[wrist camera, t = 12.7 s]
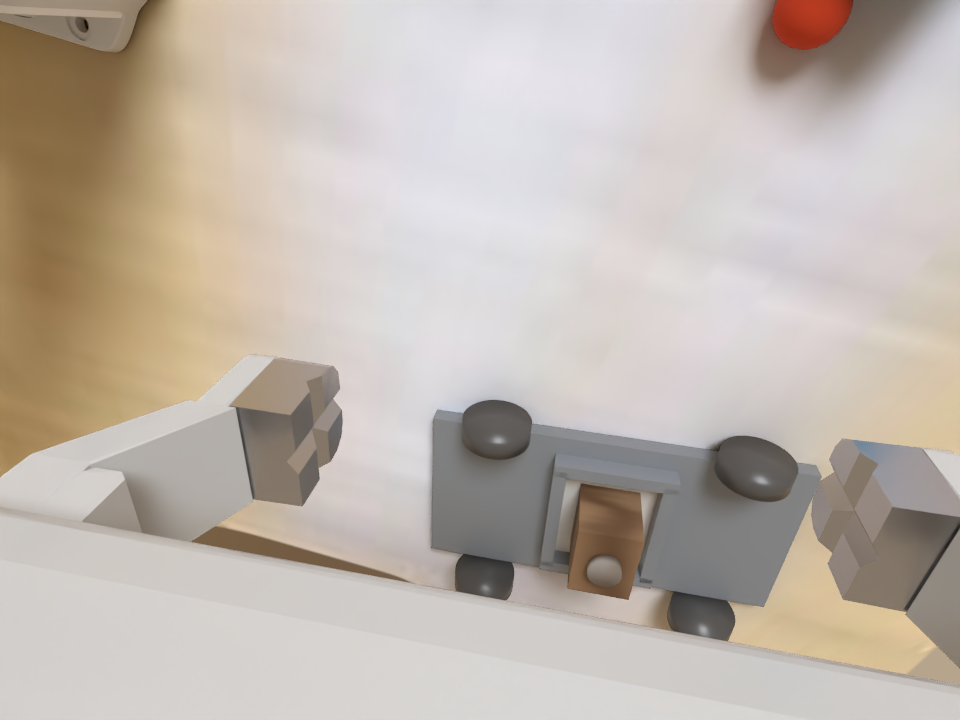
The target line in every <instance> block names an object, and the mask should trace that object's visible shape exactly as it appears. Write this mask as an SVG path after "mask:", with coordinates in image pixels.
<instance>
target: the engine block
mask: <svg viewBox="0 0 960 720" xmlns="http://www.w3.org/2000/svg"><path fill="white" fill-rule="evenodd" d="M643 546H644V531H643V518H642V505H641V493H638V492H632V491H626V490H619V489H613V488H607V487H601V486H595V485H589V484H582V483H581V486H580V491H579V497H578V502H577V507H576V513H575V518H574V523H573V529H572V534H571V540H570V557H569V573H568V589H572V590H578V591H583V592H589V593H594V594H600V595H605V596H610V597H616V598H621V599H627V600H629V596H630V593H631V589H632V585H633V582H634V578H635V575H636V571H637V567H638V564H639V560H640V556H641V553H642V549H643Z"/></svg>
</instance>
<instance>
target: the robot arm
mask: <svg viewBox="0 0 960 720" xmlns="http://www.w3.org/2000/svg"><path fill="white" fill-rule="evenodd" d="M147 1H148V0H0V21H3V22H6V23H10V24H13V25H16V26H20V27H23V28H26V29H30V30H33V31H36V32H39V33H43V34H46V35H49V36H53V37H56V38H59V39H63V40H66V41H69V42H72V43H76V44H79V45H82V46H86V47H89V48H92V49H96V50H99V51H106V52H119V51H121V50H123V49H124V48H125V46H126V45H127V43H128V41H129V39H130V37H131V34H132V32H133V28H134V25H135V22H136V19H137V15H138V12H139V11H140V9H141V8H142V6H143V5H144V4H145V3H146V2H147ZM84 19H86V21H87V22H88V25H89V29H87V28H86V27H85V24H84ZM339 389H340V384H339V375H338V371H337V370H336V369H335V367H334V366H329V365H323V364H317V363H310V362H304V361H298V360H292V359H286V358H278V357H274V356H266V355H258V354H249V355H246V356H245V357H244V358H243V359H242V360H241V361H240V362H238V363H237V364H236V365H235V366H234V367H233V368H232V369H231V370H230V371H229V372H228V373H227V374H226V375H224V376H223V377H222V378H221V379H220V380H219V381H218V382H217V383H216V384H215V385H214V386H213V387H212V388H210V389H209V390H208V391H207V392H206V393H205V394H204V395H203V396H202V397H201V398H200V399H199V400H198V401H189V400H187V401H184V402H181V403H178V404H175V405H172V406H170V407H167V408H164V409H161V410H158V411H155V412H152V413H149V414H146V415H143V416H140V417H137V418H135V419H132V420H129V421H126V422H123V423H120V424H117V425H114V426H111V427H108V428H105V429H102V430H100V431H97V432H94V433H91V434H88V435H85V436H82V437H79V438H76V439H73V440H70V441H67V442H65V443H62V444H59V445H56V446H53V447H50V448H47V449H44V450H41V451H38V452H35V453H32V454H30V455H29V456H28V457H26V458H25V459H24V460H22V461H21V462H20V463H18V464H17V465H16V466H14V467H13V468H12V469H11V470H9V471H8V472H7V473H5V474H4V475H3V476H1V477H0V720H960V685H959V684H953V683H948V682H943V681H938V680H932V679H927V678H921V677H915V676H911V675H905V674H900V673H895V672H889V671H884V670H878V669H873V668H868V667H862V666H857V665H852V664H846V663H841V662H835V661H830V660H825V659H819V658H814V657H809V656H803V655H798V654H793V653H787V652H782V651H776V650H771V649H766V648H760V647H755V646H750V645H744V644H739V643H733V642H728V641H723V640H717V639H712V638H707V637H701V636H696V635H690V634H685V633H680V632H674V631H669V630H664V629H658V628H653V627H647V626H642V625H636V624H631V623H625V622H620V621H615V620H609V619H604V618H598V617H593V616H587V615H582V614H576V613H571V612H566V611H560V610H555V609H549V608H544V607H538V606H533V605H527V604H522V603H516V602H511V601H506V600H500V599H495V598H489V597H484V596H478V595H473V594H467V593H462V592H457V591H451V590H446V589H441V588H435V587H430V586H424V585H419V584H414V583H408V582H402V581H397V580H392V579H386V578H381V577H376V576H370V575H365V574H360V573H354V572H349V571H343V570H338V569H333V568H327V567H322V566H316V565H310V564H306V563H300V562H295V561H290V560H284V559H279V558H273V557H268V556H263V555H257V554H252V553H247V552H241V551H235V550H230V549H225V548H219V547H214V546H209V545H203V544H197V543H193V542H191V541H192V540H194V539H195V538H197V537H199V536H200V535H202V534H203V533H205V532H206V531H208V530H210V529H211V528H213V527H214V526H216V525H217V524H219V523H221V522H222V521H224V520H225V519H227V518H228V517H230V516H232V515H233V514H235V513H236V512H238V511H239V510H241V509H243V508H244V507H246V506H247V505H249V504H250V503H252V502H253V499H255V500H262V501H269V502H276V503H283V504H290V505H297V506H303V505H304V503H305V502H306V500H307V498H308V497H309V495H310V494H311V492H312V490H313V489H314V487H315V486H316V484H317V482H318V481H319V469H318V468H319V467H321V466H323V465H325V464H327V463H329V462H330V461H331V460H332V458H333V456H334V454H335V453H336V451H337V448H338V445H339V441H340V438H341V434H342V422H343V421H342V410H341V408H340V407H339V406H338V405H337V403H336V402H335V401H334V399H333V398H334V397H335V395H336V394H337V392H338V391H339ZM829 460H830V462H831V465H832V467H833V469H834V471H835V472H834V473H832V474H831V475H829V476H827V477H826V478H824V479H823V480H821V481H819V484H818V486H817V489H816V491H815V494H814V496H813V502H812V513H811V517H812V523H813V528H814V531H815V534H816V536H817V539H818V541H819V542H820V543H822V544H823V545H824V546H825V547H826V548H827V549H829V550H830V551H831V552H832V556H831V558H830V560H829V562H828V565H829V568H830V570H831V573H832V575H833V577H834V580H835V582H836V584H837V587H838V589H839V591H840V594H841V596H842V598H843V600H848V601H853V602H858V603H863V604H868V605H873V606H878V607H883V608H888V609H893V610H898V611H903V612H907V613H906V614H905V615H906V616H907V617H908V618H909V619H910V620H911V621H912V622H913V623H914V624H915V625H916V626H917V627H918V628H919V629H920V630H921V631H922V632H923V633H924V634H925V635H926V636H927V637H928V638H929V639H930V640H931V641H932V642H933V643H934V644H936V645H937V646H938V647H939V648H940V649H941V650H942V651H943V652H944V653H945V654H946V655H947V656H948V657H949V658H950V659H951V660H952V661H953V662H954V663H955V664H956V665H957V666H958V667H959V668H960V455H958V454H956V453H954V452H952V451H949V450H939V449H930V448H921V447H909V446H900V445H892V444H883V443H875V442H867V441H858V440H850V439H842V440H841V441H840V442H839V443H838V444H837V445H836V446H835V448H834V450H833V452H832V454H831V457H830V459H829Z"/></svg>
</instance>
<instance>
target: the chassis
mask: <svg viewBox="0 0 960 720" xmlns="http://www.w3.org/2000/svg"><path fill="white" fill-rule="evenodd" d="M821 477H822V476H821V474H820V472H819V470H818V468H817V466H815V465H808V464H801V463H796V461H795V460H794V458H793V457H792V456H791V455H790V454H789V453H788V452H787V451H785V450H784V449H782V448H781V447H779V446H777V445H776V444H774V443H771V442H769V441H766V440H763V439H760V438H756V437H751V436H735V437H731V438H728V439H726V440H725V441H723V442H722V444H721V446H720V449H719V451H713V450H706V449H700V448H693V447H686V446H679V445H673V444H666V443H659V442H652V441H645V440H639V439H632V438H625V437H618V436H612V435H605V434H598V433H591V432H584V431H578V430H571V429H564V428H557V427H551V426H544V425H537V424H532V419H531V417H530V415H529V414H528V413H527V411H525V410H524V409H523V408H521V407H520V406H518V405H516V404H513V403H510V402H506V401H499V400H488V401H482V402H479V403H476V404H474V405H472V406H470V407H469V408H468V409H467V410H466V411H465V412H464V414H462V413H456V412H449V411H442V410H437V412H436V414H435V416H434V421H433V484H432V547H431V548H434V549H440V550H445V551H451V552H457V553H462V554H463V555H462V556H461V557H460V559H459V560H458V562H457V564H456V570H455V588H456V591H457V592H462V593H467V594H473V595H478V596H484V597H489V598H495V599H500V600H507V599H508V598H509V596H510V595H511V592H512V588H513V580H514V568H513V565H512V563H511V562H513V563H518V564H524V565H530V566H535V567H539V569H542V570H548V571H554V572H559V573H565V574H568V573H569V557H570V540H571V534H572V529H573V523H574V518H575V513H576V507H577V502H578V497H579V491H580V486H581V483H582V484H589V485H595V486H601V487H607V488H613V489H619V490H626V491H632V492H638V493H641V505H642V518H643V531H644V546H643V549H642V553H641V556H640V560H639V564H638V567H637V571H636V575H635V578H634V582H633V585H632V586H638V587H643V588H649V589H650V588H651V587H653V588H659V589H665V590H670V591H675V592H674V593H673V595H672V598H671V601H670V604H669V607H668V611H667V619H668V622H669V625H670V627H671V629H672V630H673V631H674V632H680V633H685V634H690V635H696V636H701V637H707V638H712V639H717V640H723V641H728V640H729V637H730V635H731V633H732V630H733V628H734V625H735V615H734V612H733V610H732V608H731V606H730V605H729V603H728V602H727V601H732V602H738V603H743V604H749V605H755V606H760V607H764V605H765V603H766V601H767V598H768V596H769V594H770V592H771V589H772V587H773V585H774V583H775V580H776V578H777V576H778V574H779V571H780V569H781V567H782V565H783V562H784V560H785V558H786V556H787V553H788V551H789V549H790V547H791V544H792V542H793V540H794V538H795V535H796V533H797V531H798V529H799V526H800V524H801V522H802V520H803V518H804V515H805V513H806V511H807V509H808V506H809V504H810V502H811V500H812V497H813V495H814V493H815V491H816V488H817V486H818V484H819V481H820V479H821Z"/></svg>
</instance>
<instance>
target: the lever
mask: <svg viewBox="0 0 960 720" xmlns="http://www.w3.org/2000/svg"><path fill="white" fill-rule="evenodd" d="M852 4H853V0H777V2H776V5H775V7H774V11H773V27H774V30H775V33H776V35H777V36H778V38H779V39H780V40H781V42H782V43H784V44H786V45H788V46H789V47H791V48H796V49H802V50H804V49H812V48H816V47H818V46H820V45H822V44H825V43H827V42H828V41H829V40H830V39H832V38H833V37H834V36H835V35H837V34H838V33H839V31H840V30H841V29H842V27H843V26H844V25H845V23H846V22H847V19H848V17H849V15H850V13H851V9H852Z"/></svg>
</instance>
